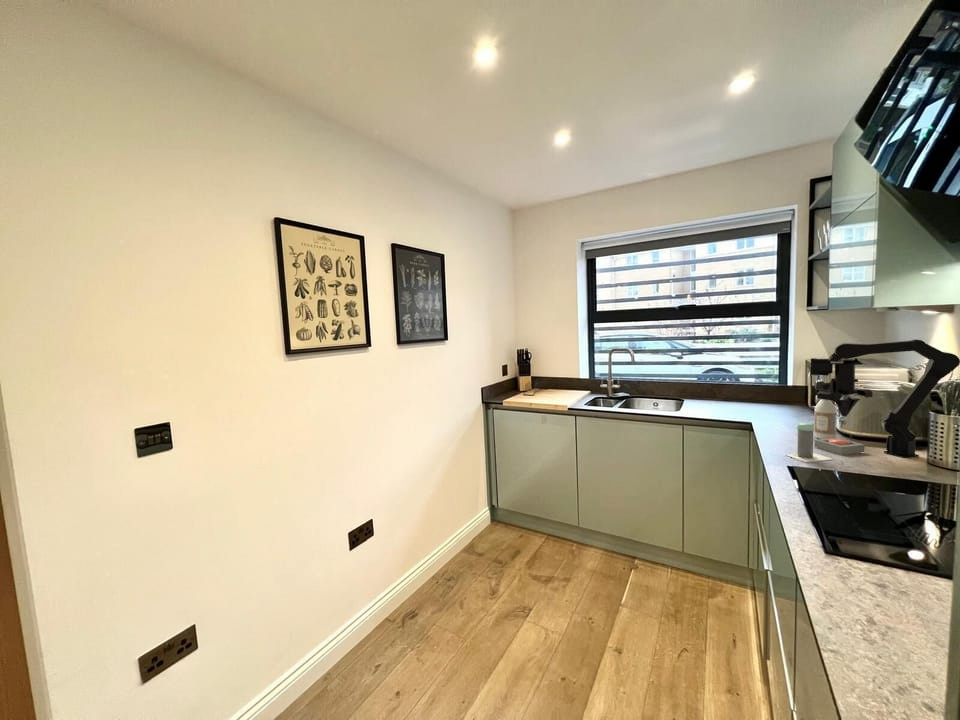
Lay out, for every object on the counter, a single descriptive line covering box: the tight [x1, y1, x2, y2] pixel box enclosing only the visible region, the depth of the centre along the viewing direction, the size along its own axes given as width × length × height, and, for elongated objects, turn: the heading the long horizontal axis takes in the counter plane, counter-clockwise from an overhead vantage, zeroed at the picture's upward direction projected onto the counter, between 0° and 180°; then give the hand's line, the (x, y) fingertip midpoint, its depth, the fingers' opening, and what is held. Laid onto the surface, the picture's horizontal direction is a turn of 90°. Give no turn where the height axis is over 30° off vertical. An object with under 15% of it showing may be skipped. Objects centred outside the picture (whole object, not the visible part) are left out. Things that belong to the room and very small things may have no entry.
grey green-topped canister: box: [796, 422, 814, 458], centre depth 144 cm, size 5×5×12 cm
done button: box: [828, 438, 850, 446], centre depth 151 cm, size 6×6×4 cm
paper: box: [786, 452, 834, 463], centre depth 144 cm, size 8×11×1 cm
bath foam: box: [813, 399, 838, 440], centre depth 165 cm, size 7×7×20 cm
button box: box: [814, 437, 865, 456], centre depth 151 cm, size 10×10×3 cm
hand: (844, 416), depth 151 cm, fingers closed
